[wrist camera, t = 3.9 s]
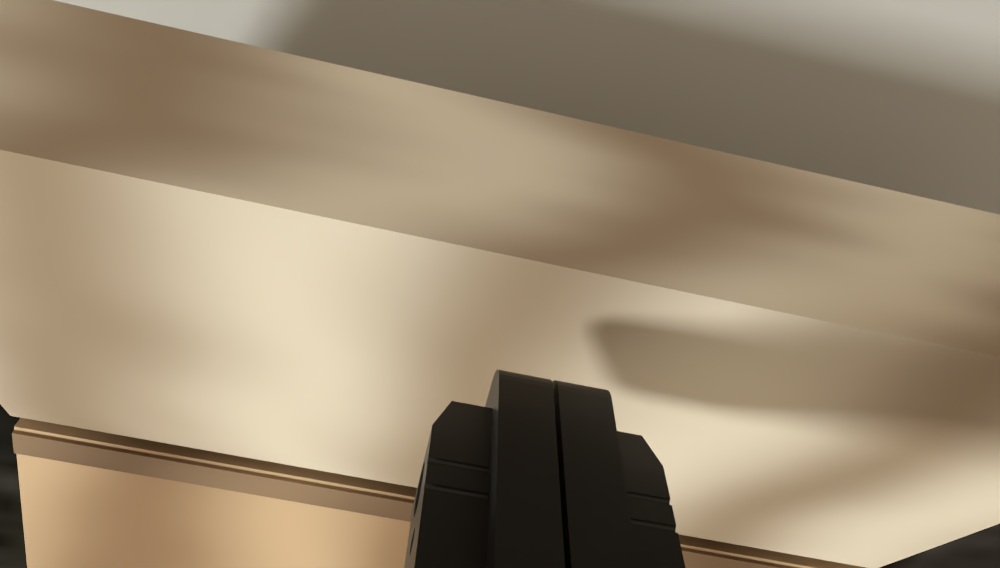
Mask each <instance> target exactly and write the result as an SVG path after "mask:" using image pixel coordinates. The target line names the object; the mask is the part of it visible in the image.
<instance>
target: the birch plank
mask: <svg viewBox="0 0 1000 568" xmlns="http://www.w3.org/2000/svg"><path fill="white" fill-rule="evenodd" d="M497 369H498V370H503V371H508V372H514V373H519V374H524V375H530V376H535V377H540V378H545V379H550V380H552V382H553V381H554V380H557V381H562V382H568V383H573V384H578V385H584V386H589V387H594V388H599V389H605V390H608V391H609V392H610V394H611V398H612V403H613V410H614V416H615V422H616V428H617V431H620V432H625V433H631V434H636V435H642V436H643V438H644V439H645V441H646V442H647V444H648V445H649V447H650V448H651V449H652V451H653V452H654V454H655V455H656V457H657V458H658V459H659V461H660V462H661V464H662V465H663V467H664V472H665V477H666V481H667V486H668V490H669V495H670V505H672V508H673V513H674V518H675V522H676V529H675V532H676V533H678V534H680V535H685V536H691V537H697V538H702V539H708V540H714V541H719V542H725V543H730V544H736V545H742V546H747V547H753V548H759V549H764V550H770V551H776V552H781V553H787V554H792V555H798V556H804V557H809V558H815V559H821V560H826V561H832V562H838V563H843V564H849V565H854V566H860V567H866V568H880V567H882V566H885V565H888V564H890V563H893V562H896V561H899V560H901V559H904V558H907V557H910V556H912V555H915V554H918V553H920V552H923V551H926V550H929V549H931V548H934V547H937V546H940V545H942V544H945V543H948V542H950V541H953V540H956V539H959V538H961V537H964V536H967V535H969V534H972V533H975V532H978V531H980V530H983V529H986V528H989V527H991V526H994V525H997V524H999V523H1000V215H999V214H995V213H990V212H986V211H981V210H977V209H972V208H968V207H964V206H959V205H955V204H950V203H946V202H942V201H937V200H933V199H928V198H924V197H919V196H915V195H911V194H906V193H902V192H897V191H893V190H889V189H884V188H880V187H875V186H871V185H867V184H862V183H858V182H853V181H849V180H844V179H840V178H836V177H831V176H827V175H822V174H818V173H814V172H809V171H805V170H800V169H796V168H791V167H787V166H783V165H778V164H774V163H769V162H765V161H761V160H756V159H752V158H747V157H743V156H739V155H734V154H730V153H725V152H721V151H716V150H712V149H708V148H703V147H699V146H694V145H690V144H686V143H681V142H677V141H672V140H668V139H663V138H659V137H655V136H650V135H646V134H641V133H637V132H633V131H628V130H624V129H619V128H615V127H611V126H606V125H602V124H597V123H593V122H588V121H584V120H580V119H575V118H571V117H566V116H562V115H558V114H553V113H549V112H544V111H540V110H535V109H531V108H527V107H522V106H518V105H513V104H509V103H505V102H500V101H496V100H491V99H487V98H483V97H478V96H474V95H469V94H465V93H460V92H456V91H452V90H447V89H443V88H438V87H434V86H430V85H425V84H421V83H416V82H412V81H407V80H403V79H399V78H394V77H390V76H385V75H381V74H377V73H372V72H368V71H363V70H359V69H354V68H350V67H346V66H341V65H337V64H332V63H328V62H324V61H319V60H315V59H310V58H306V57H302V56H297V55H293V54H288V53H284V52H279V51H275V50H271V49H266V48H262V47H257V46H253V45H249V44H244V43H240V42H235V41H231V40H226V39H222V38H218V37H213V36H209V35H204V34H200V33H196V32H191V31H187V30H182V29H178V28H174V27H169V26H165V25H160V24H156V23H151V22H147V21H143V20H138V19H134V18H129V17H125V16H121V15H116V14H112V13H107V12H103V11H98V10H94V9H90V8H85V7H81V6H76V5H72V4H68V3H63V2H59V1H54V0H0V404H1V405H2V406H3V408H4V409H5V410H6V411H7V412H8V413H9V415H10V416H15V417H21V418H26V419H32V420H38V421H43V422H49V423H54V424H60V425H66V426H71V427H77V428H83V429H88V430H94V431H100V432H105V433H111V434H116V435H122V436H128V437H133V438H139V439H145V440H150V441H156V442H162V443H167V444H173V445H178V446H184V447H190V448H195V449H201V450H207V451H212V452H218V453H223V454H229V455H235V456H240V457H246V458H252V459H257V460H263V461H269V462H274V463H280V464H285V465H291V466H297V467H302V468H308V469H314V470H319V471H325V472H331V473H336V474H342V475H347V476H353V477H359V478H364V479H370V480H376V481H381V482H387V483H392V484H398V485H404V486H409V487H415V488H417V487H418V483H419V479H420V475H421V470H422V466H423V462H424V458H425V454H426V449H427V445H428V441H429V437H430V433H431V428H432V425H433V423H434V422H435V421H436V420H437V418H438V417H439V416H440V415H441V414H442V412H443V411H444V410H445V409H446V407H447V406H448V405H449V404H450V402H451V401H456V402H461V403H467V404H472V405H477V406H483V407H485V405H486V401H487V398H488V394H489V390H490V387H491V383H492V380H493V377H494V374H495V372H496V370H497Z"/></svg>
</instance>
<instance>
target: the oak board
mask: <svg viewBox="0 0 1000 568" xmlns="http://www.w3.org/2000/svg"><path fill="white" fill-rule="evenodd" d="M12 438H13V448H14V453H16V454H17V463H18V474H19V485H20V495H21V506H22V517H23V527H24V538H25V549H26V559H27V568H404V566H405V558H406V551H407V545H408V537H409V530H410V522H411V515H412V508H413V504H414V500H415V496H416V491H417V488H415V487H409V486H404V485H398V484H392V483H387V482H381V481H376V480H370V479H364V478H359V477H353V476H347V475H342V474H336V473H331V472H325V471H319V470H314V469H308V468H302V467H297V466H291V465H285V464H280V463H274V462H269V461H263V460H257V459H252V458H246V457H240V456H235V455H229V454H223V453H218V452H212V451H207V450H201V449H195V448H190V447H184V446H178V445H173V444H167V443H162V442H156V441H150V440H145V439H139V438H133V437H128V436H122V435H116V434H111V433H105V432H100V431H94V430H88V429H83V428H77V427H71V426H66V425H60V424H54V423H49V422H43V421H38V420H32V419H26V418H20V420H19V421H18V422H17V423H16V425H15V426H14V431H13V432H12ZM678 536H679V540H680V545H681V549H682V554H683V559H684V563H685V568H862V567H860V566H854V565H849V564H843V563H838V562H832V561H826V560H821V559H815V558H809V557H804V556H798V555H792V554H787V553H781V552H776V551H770V550H764V549H759V548H753V547H747V546H742V545H736V544H730V543H725V542H719V541H714V540H708V539H702V538H697V537H691V536H685V535H680V534H678Z"/></svg>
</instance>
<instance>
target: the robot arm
mask: <svg viewBox="0 0 1000 568" xmlns="http://www.w3.org/2000/svg"><path fill="white" fill-rule="evenodd" d="M675 529H676V522H675V518H674V513H673V508H672V505H670V495H669V490H668V486H667V481H666V477H665V472H664V467H663V465H662V464H661V462H660V461H659V459H658V458H657V457H656V455H655V454H654V452H653V451H652V449H651V448H650V447H649V445H648V444H647V442H646V441H645V439H644V438H643V436H642V435H636V434H631V433H625V432H620V431H617V428H616V422H615V416H614V410H613V403H612V398H611V394H610V392H609V391H608V390H605V389H599V388H594V387H589V386H584V385H578V384H573V383H568V382H562V381H557V380H554V381H553V382H552V380H550V379H545V378H540V377H535V376H530V375H524V374H519V373H514V372H508V371H503V370H498V369H497V370H496V372H495V374H494V377H493V380H492V383H491V387H490V390H489V394H488V398H487V401H486V405H485V407H483V406H477V405H472V404H467V403H461V402H456V401H451V402H450V404H449V405H448V406H447V407H446V409H445V410H444V411H443V412H442V414H441V415H440V416H439V417H438V418H437V420H436V421H435V422H434V423H433V425H432V428H431V433H430V437H429V441H428V445H427V449H426V454H425V458H424V462H423V466H422V470H421V475H420V479H419V483H418V487H417V491H416V496H415V500H414V504H413V508H412V515H411V522H410V530H409V537H408V545H407V551H406V558H405V566H404V568H685V563H684V559H683V554H682V549H681V545H680V540H679V536H678V533H676V532H675Z"/></svg>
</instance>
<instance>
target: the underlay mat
mask: <svg viewBox="0 0 1000 568" xmlns="http://www.w3.org/2000/svg"><path fill="white" fill-rule="evenodd" d="M54 1H59V2H63V3H68V4H72V5H76V6H81V7H85V8H90V9H94V10H98V11H103V12H107V13H112V14H116V15H121V16H125V17H129V18H134V19H138V20H143V21H147V22H151V23H156V24H160V25H165V26H169V27H174V28H178V29H182V30H187V31H191V32H196V33H200V34H204V35H209V36H213V37H218V38H222V39H226V40H231V41H235V42H240V43H244V44H249V45H253V46H257V47H262V48H266V49H271V50H275V51H279V52H284V53H288V54H293V55H297V56H302V57H306V58H310V59H315V60H319V61H324V62H328V63H332V64H337V65H341V66H346V67H350V68H354V69H359V70H363V71H368V72H372V73H377V74H381V75H385V76H390V77H394V78H399V79H403V80H407V81H412V82H416V83H421V84H425V85H430V86H434V87H438V88H443V89H447V90H452V91H456V92H460V93H465V94H469V95H474V96H478V97H483V98H487V99H491V100H496V101H500V102H505V103H509V104H513V105H518V106H522V107H527V108H531V109H535V110H540V111H544V112H549V113H553V114H558V115H562V116H566V117H571V118H575V119H580V120H584V121H588V122H593V123H597V124H602V125H606V126H611V127H615V128H619V129H624V130H628V131H633V132H637V133H641V134H646V135H650V136H655V137H659V138H663V139H668V140H672V141H677V142H681V143H686V144H690V145H694V146H699V147H703V148H708V149H712V150H716V151H721V152H725V153H730V154H734V155H739V156H743V157H747V158H752V159H756V160H761V161H765V162H769V163H774V164H778V165H783V166H787V167H791V168H796V169H800V170H805V171H809V172H814V173H818V174H822V175H827V176H831V177H836V178H840V179H844V180H849V181H853V182H858V183H862V184H867V185H871V186H875V187H880V188H884V189H889V190H893V191H897V192H902V193H906V194H911V195H915V196H919V197H924V198H928V199H933V200H937V201H942V202H946V203H950V204H955V205H959V206H964V207H968V208H972V209H977V210H981V211H986V212H990V213H995V214H999V215H1000V0H54Z"/></svg>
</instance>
